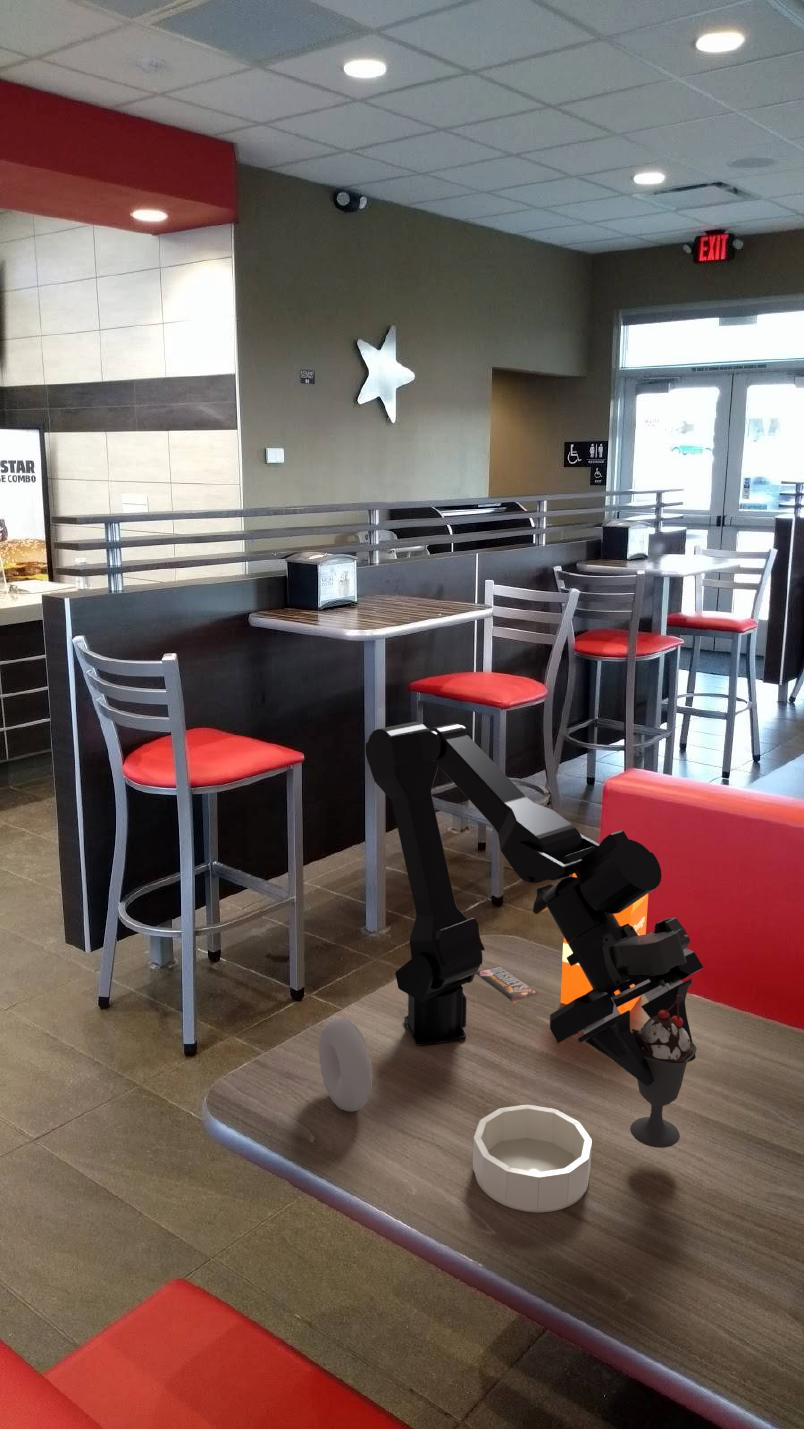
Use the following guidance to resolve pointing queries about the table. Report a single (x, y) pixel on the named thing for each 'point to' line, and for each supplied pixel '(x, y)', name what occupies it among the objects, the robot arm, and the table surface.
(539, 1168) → the white faceted bowl
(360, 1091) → the donut
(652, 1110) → the sundae
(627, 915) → the orange juice
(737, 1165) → the table surface
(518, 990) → the chocolate bar
